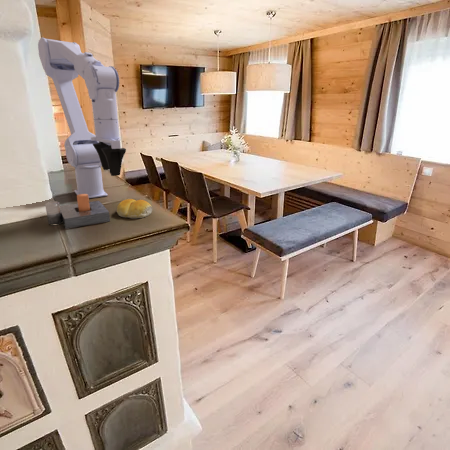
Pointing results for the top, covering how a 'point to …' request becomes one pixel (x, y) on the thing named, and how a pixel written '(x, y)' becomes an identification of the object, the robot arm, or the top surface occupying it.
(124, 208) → the bread roll
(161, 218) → the top surface
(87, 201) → the sausage
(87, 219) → the slotted grey box
